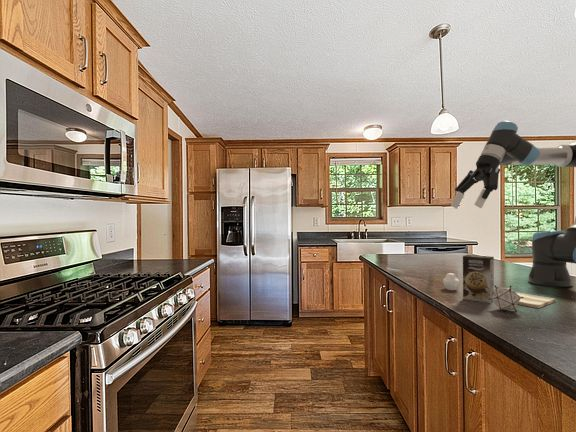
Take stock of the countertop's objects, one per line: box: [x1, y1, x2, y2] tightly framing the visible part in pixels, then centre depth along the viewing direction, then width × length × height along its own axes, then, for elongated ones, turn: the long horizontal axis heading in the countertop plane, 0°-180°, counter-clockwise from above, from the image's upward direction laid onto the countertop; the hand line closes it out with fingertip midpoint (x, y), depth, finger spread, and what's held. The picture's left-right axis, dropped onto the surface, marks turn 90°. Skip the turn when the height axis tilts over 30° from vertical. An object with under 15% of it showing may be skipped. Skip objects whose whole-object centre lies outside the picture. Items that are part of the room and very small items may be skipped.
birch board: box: [515, 291, 556, 309], centre depth 117 cm, size 14×13×1 cm
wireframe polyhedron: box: [488, 285, 524, 313], centre depth 106 cm, size 9×8×10 cm
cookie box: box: [462, 254, 495, 304], centre depth 120 cm, size 9×6×16 cm
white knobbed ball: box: [442, 272, 460, 291], centre depth 136 cm, size 6×6×7 cm
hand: (465, 206), depth 124 cm, fingers open, 13 cm apart
